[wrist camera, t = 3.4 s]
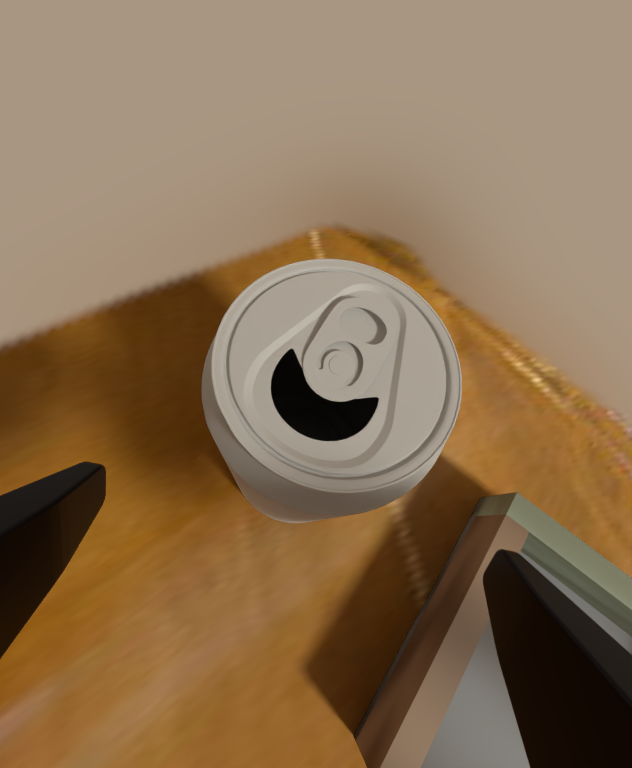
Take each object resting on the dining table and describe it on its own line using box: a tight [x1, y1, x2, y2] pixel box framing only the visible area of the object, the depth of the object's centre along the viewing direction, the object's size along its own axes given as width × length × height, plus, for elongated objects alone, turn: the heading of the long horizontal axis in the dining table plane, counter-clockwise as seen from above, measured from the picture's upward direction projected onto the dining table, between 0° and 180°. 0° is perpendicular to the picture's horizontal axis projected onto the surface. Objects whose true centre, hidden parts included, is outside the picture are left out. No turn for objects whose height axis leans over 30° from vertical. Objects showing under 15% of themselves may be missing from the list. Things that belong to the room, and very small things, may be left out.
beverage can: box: [202, 259, 462, 523], centre depth 14 cm, size 6×6×12 cm
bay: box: [353, 492, 632, 768], centre depth 15 cm, size 12×13×3 cm
